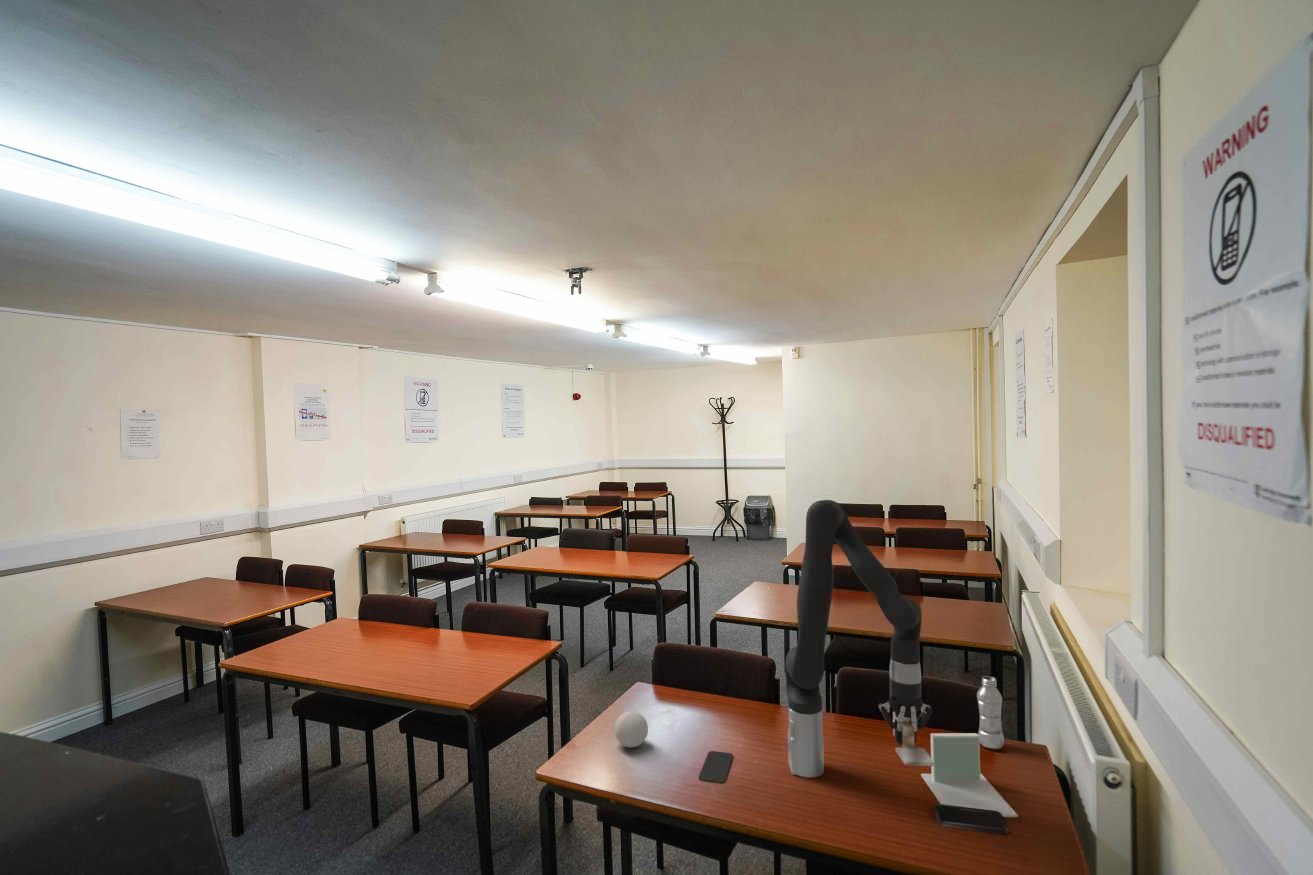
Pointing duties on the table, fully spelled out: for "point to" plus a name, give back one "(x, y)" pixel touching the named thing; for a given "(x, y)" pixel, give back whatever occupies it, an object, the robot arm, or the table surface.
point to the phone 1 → (716, 767)
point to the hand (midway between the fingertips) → (905, 743)
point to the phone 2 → (971, 819)
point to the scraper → (911, 747)
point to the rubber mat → (969, 795)
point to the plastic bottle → (990, 714)
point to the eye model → (631, 729)
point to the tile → (955, 757)
